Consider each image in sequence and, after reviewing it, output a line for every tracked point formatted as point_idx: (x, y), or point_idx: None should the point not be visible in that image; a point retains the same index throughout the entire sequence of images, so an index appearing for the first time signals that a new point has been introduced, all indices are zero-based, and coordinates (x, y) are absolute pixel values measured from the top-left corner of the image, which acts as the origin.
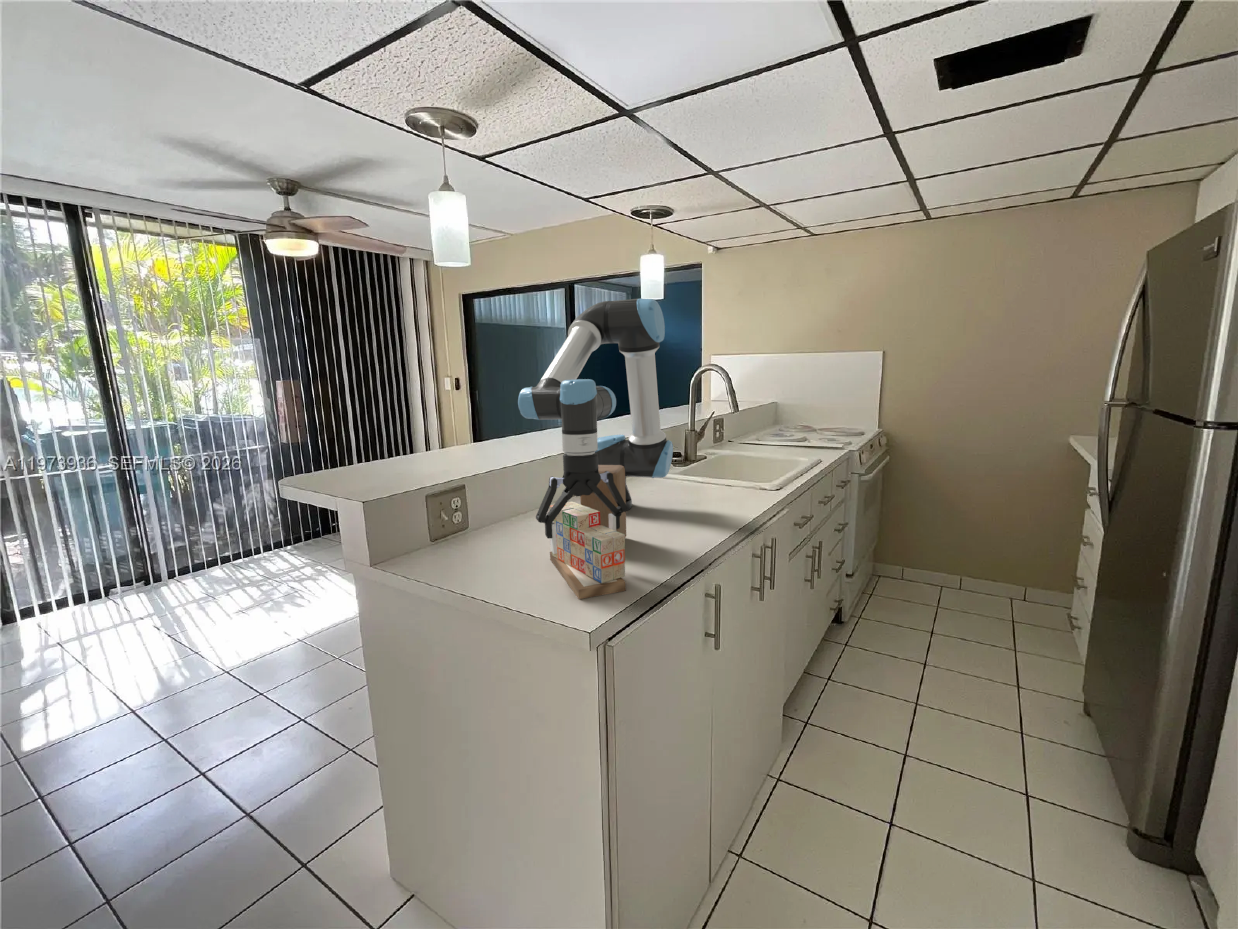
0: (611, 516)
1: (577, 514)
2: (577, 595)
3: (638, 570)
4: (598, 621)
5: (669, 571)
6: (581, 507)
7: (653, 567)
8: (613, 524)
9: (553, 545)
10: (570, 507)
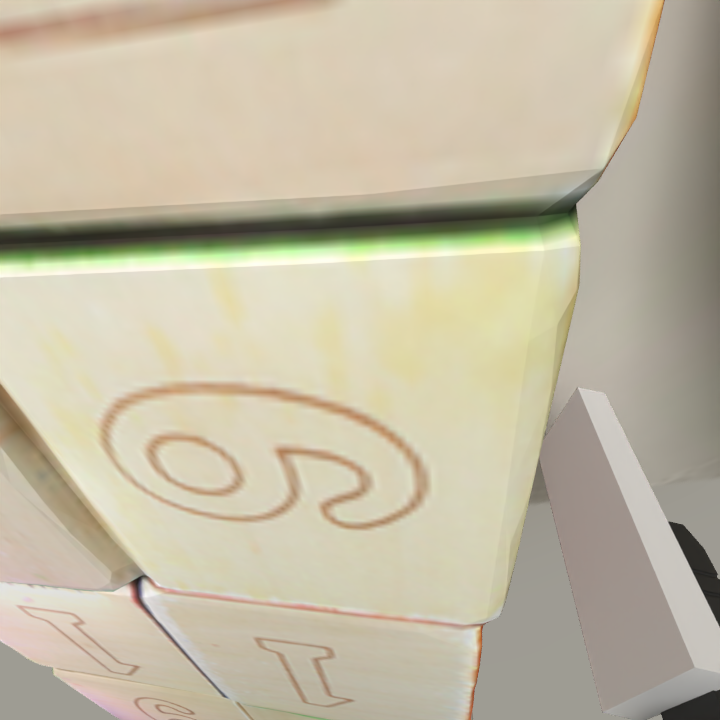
0: (623, 695)
1: (153, 716)
2: None
3: (612, 390)
4: None
5: (697, 465)
6: (330, 642)
7: (699, 404)
8: (583, 615)
9: None
10: (34, 546)
